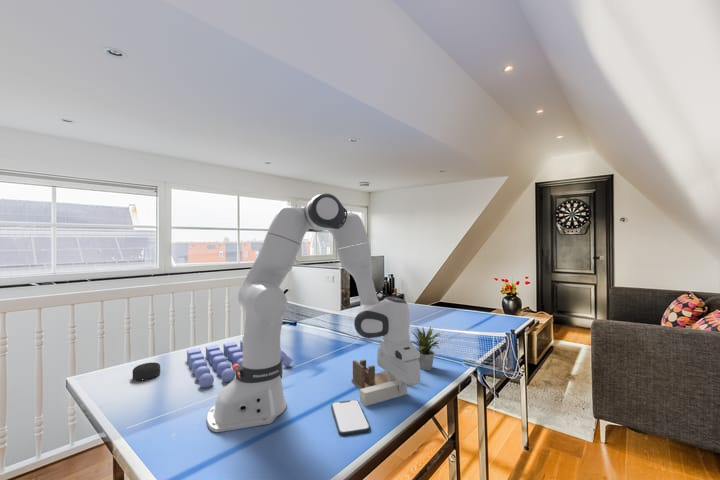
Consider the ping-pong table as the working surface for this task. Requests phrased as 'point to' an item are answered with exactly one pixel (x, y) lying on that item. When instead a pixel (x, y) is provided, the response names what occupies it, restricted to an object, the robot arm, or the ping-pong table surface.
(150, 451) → the ping-pong table surface
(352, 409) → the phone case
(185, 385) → the ping-pong table surface
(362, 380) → the rack
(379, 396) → the clay strip
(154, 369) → the smart speaker
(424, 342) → the house plant
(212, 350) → the blocks
